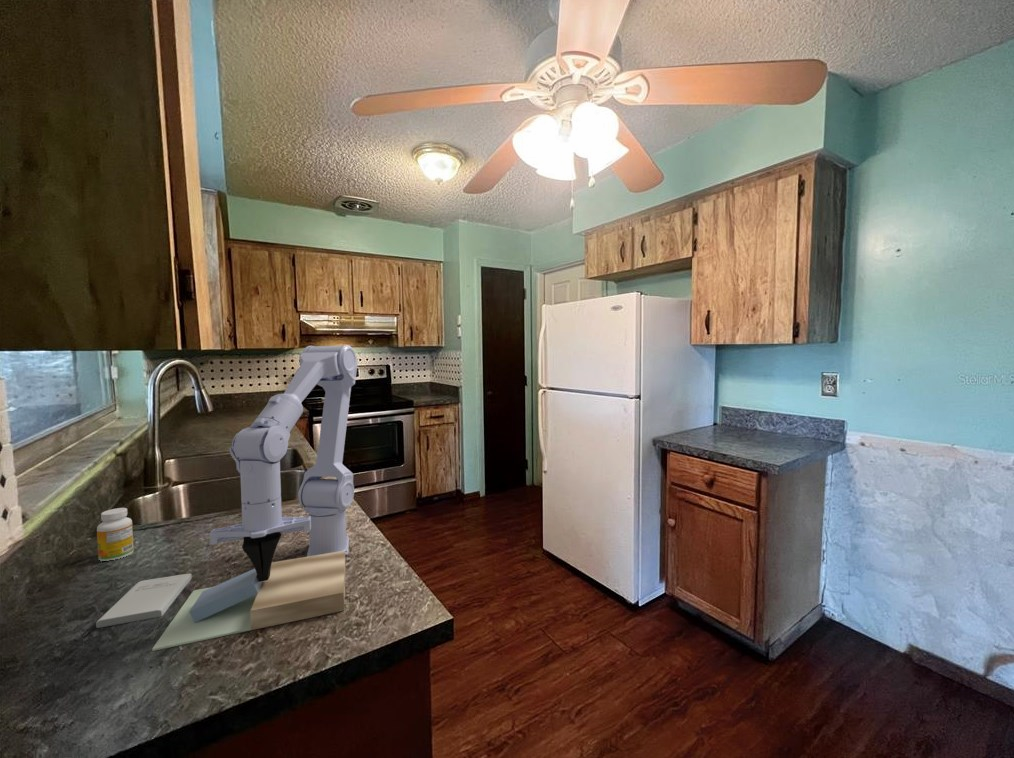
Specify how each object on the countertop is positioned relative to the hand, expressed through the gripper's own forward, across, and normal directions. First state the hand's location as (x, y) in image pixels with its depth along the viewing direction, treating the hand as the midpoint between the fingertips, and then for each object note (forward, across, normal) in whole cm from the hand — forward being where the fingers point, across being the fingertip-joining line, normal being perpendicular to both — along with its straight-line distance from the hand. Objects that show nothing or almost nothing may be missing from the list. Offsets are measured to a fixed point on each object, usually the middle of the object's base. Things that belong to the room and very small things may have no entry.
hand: (264, 578), depth 69 cm
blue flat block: (+2, -5, 0) cm, 5 cm away
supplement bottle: (+4, -33, +31) cm, 45 cm away
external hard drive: (+5, -19, +8) cm, 21 cm away
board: (+4, +6, 0) cm, 7 cm away
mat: (+4, -6, 0) cm, 8 cm away
